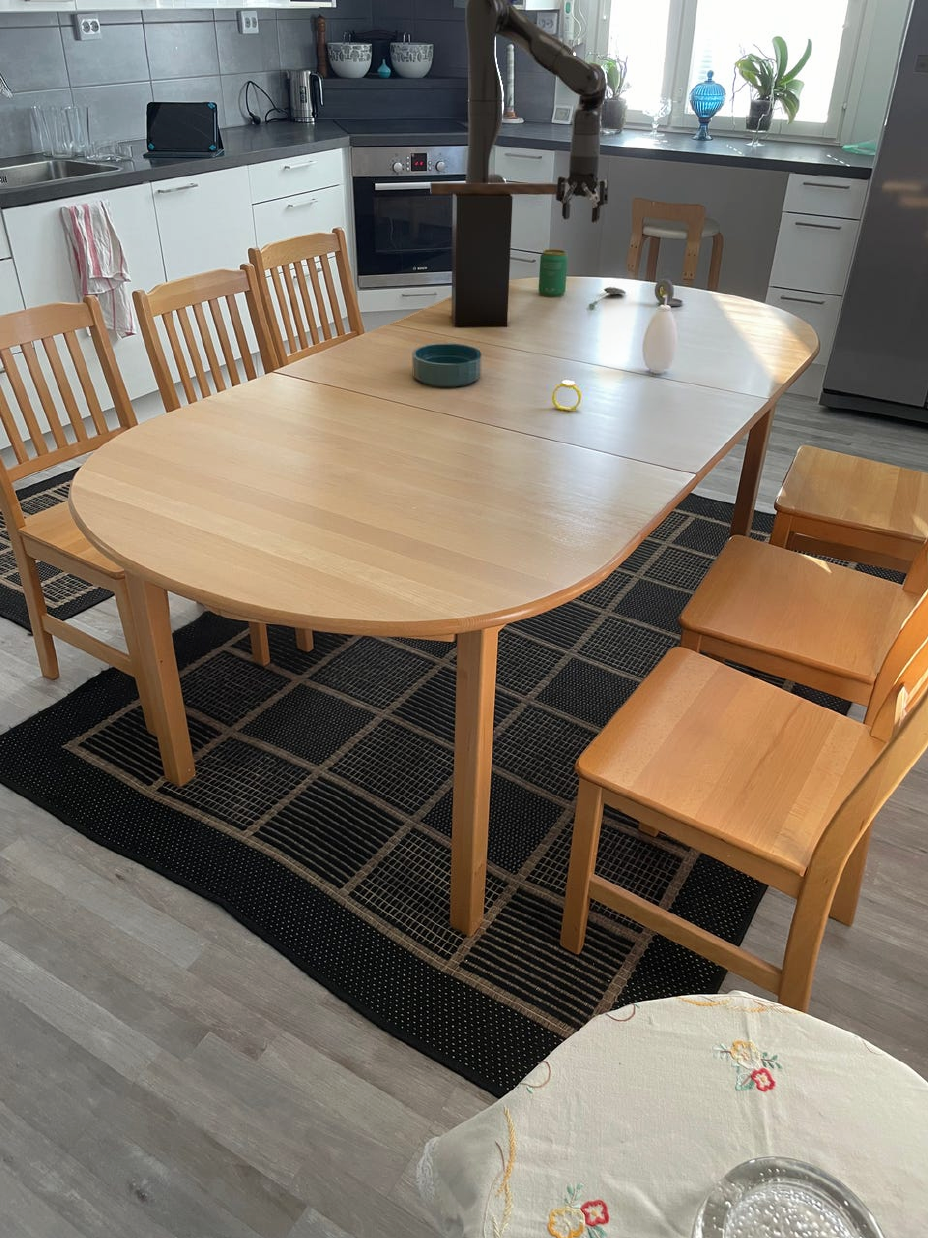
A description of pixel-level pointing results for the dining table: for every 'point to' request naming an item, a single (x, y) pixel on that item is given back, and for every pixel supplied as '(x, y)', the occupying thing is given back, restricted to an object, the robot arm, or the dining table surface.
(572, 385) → the gold diamond ring
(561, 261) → the beverage can
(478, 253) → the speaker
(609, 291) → the soupspoon
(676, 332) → the sauce bottle
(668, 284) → the pocket watch
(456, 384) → the bowl
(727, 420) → the dining table surface
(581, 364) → the dining table surface
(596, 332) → the dining table surface
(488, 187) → the stick
